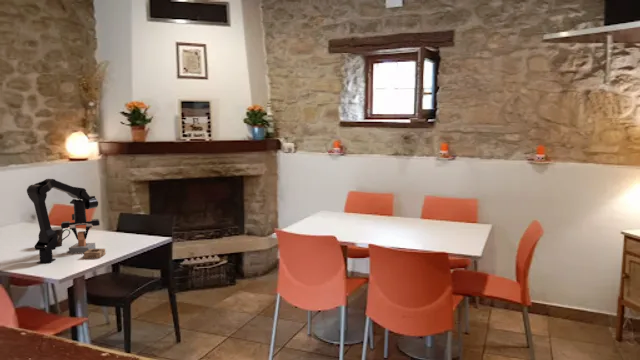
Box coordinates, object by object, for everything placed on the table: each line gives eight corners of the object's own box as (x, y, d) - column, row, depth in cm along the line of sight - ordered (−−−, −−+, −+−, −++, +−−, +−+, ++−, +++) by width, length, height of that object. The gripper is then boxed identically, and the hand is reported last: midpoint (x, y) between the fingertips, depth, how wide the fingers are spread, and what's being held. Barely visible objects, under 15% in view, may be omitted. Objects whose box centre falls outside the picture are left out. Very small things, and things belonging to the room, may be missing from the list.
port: (88, 252, 273) (88, 247, 273) (69, 253, 273) (68, 247, 272) (95, 248, 283) (95, 242, 283) (76, 248, 283) (76, 243, 282)
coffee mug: (44, 248, 283) (43, 230, 282) (49, 244, 292) (48, 227, 291) (67, 247, 286) (66, 229, 284) (71, 243, 294) (70, 226, 293)
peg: (84, 246, 276) (83, 232, 275) (78, 247, 276) (77, 232, 275) (86, 245, 279) (85, 231, 278) (80, 245, 279) (79, 231, 278)
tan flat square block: (100, 258, 263) (99, 252, 263) (84, 258, 263) (83, 252, 262) (105, 254, 271) (105, 248, 271) (90, 254, 271) (89, 248, 270)
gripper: (98, 207, 286) (100, 234, 288) (61, 209, 279) (63, 237, 281) (98, 210, 276) (100, 238, 278) (60, 213, 269) (62, 242, 271)
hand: (81, 239), depth 277 cm, fingers closed on peg, 4 cm apart
